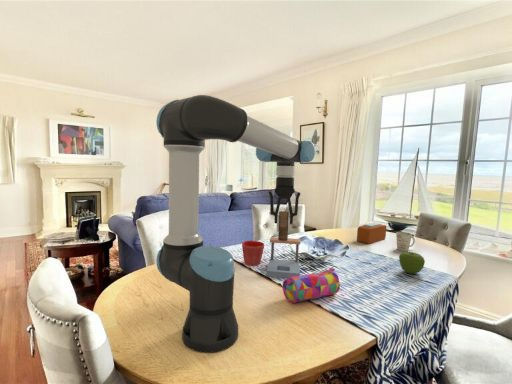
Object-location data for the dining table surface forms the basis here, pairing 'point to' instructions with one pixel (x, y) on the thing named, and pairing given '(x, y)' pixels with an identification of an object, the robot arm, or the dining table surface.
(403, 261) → the apple
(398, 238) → the mug
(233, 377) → the dining table surface
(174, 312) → the dining table surface
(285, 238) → the dowel
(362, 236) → the orange rectangular block
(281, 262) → the socket board
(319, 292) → the pencil case
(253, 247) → the flower pot
